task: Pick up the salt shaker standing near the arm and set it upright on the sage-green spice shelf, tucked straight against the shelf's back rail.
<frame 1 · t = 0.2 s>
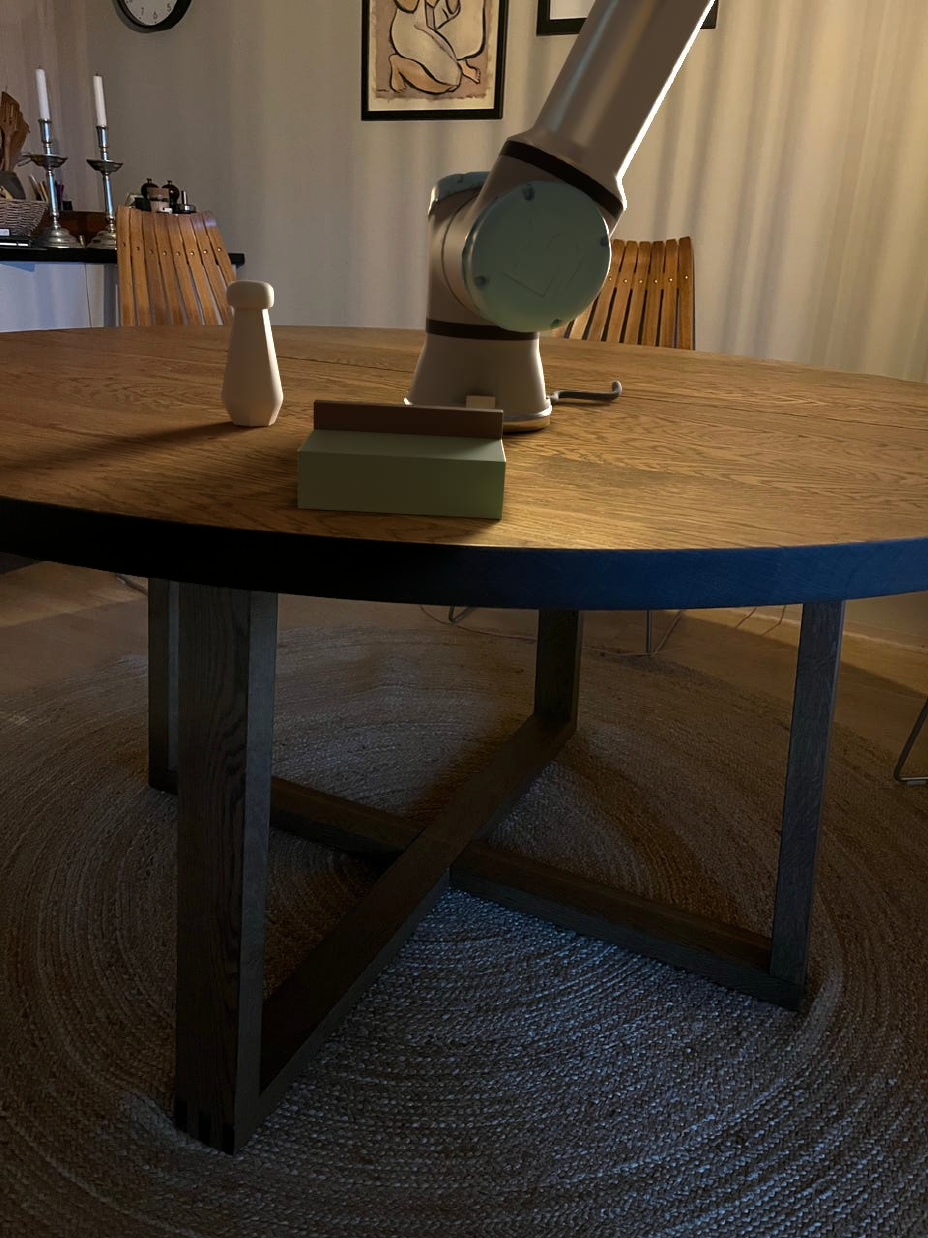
salt shaker: (252, 424, 96), on the table
spice shelf: (403, 497, 72), on the table
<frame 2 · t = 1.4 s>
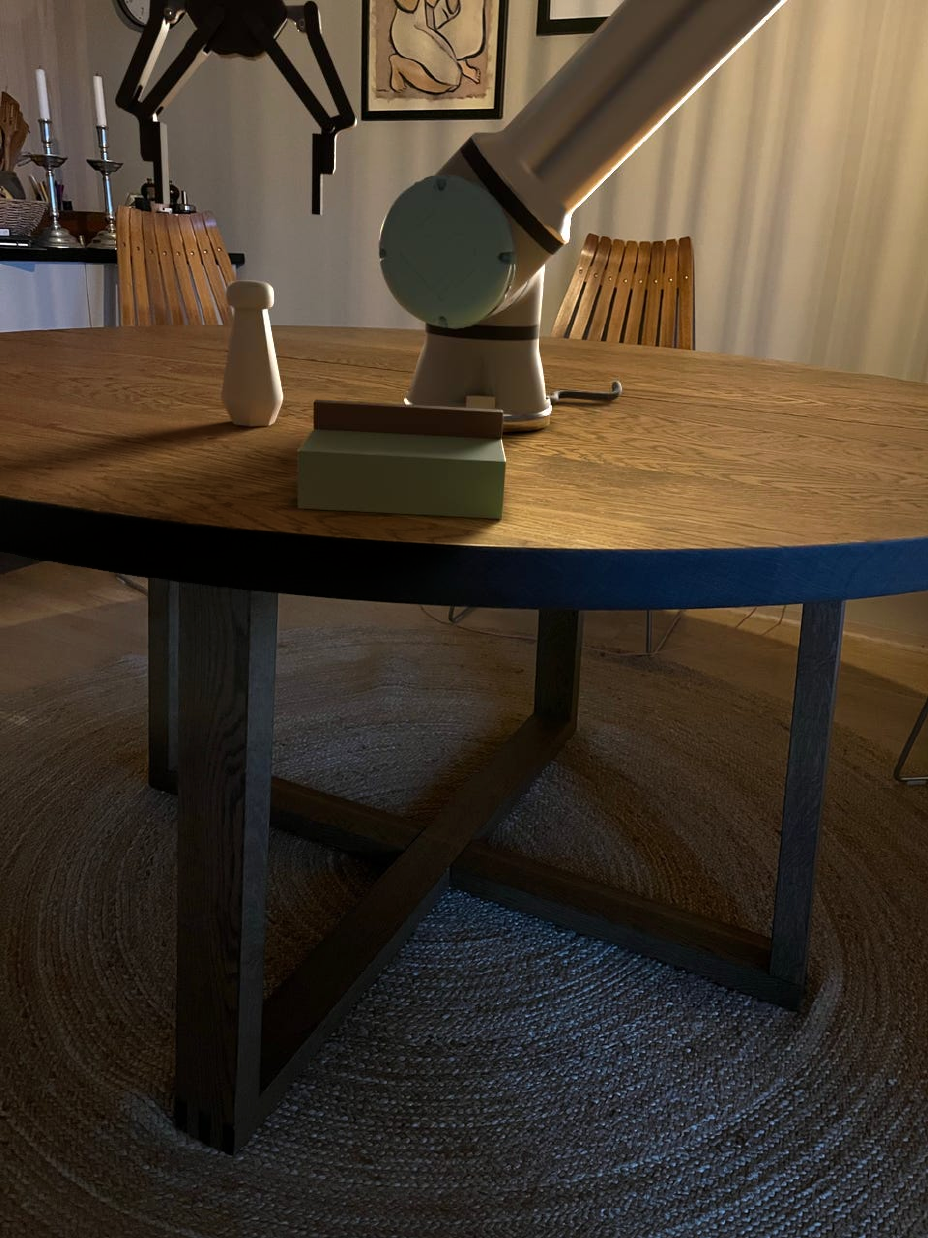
hand: (240, 209, 89), 19 cm above the table, tool pointing down, fingers open, 13 cm apart
nothing on the table moved.
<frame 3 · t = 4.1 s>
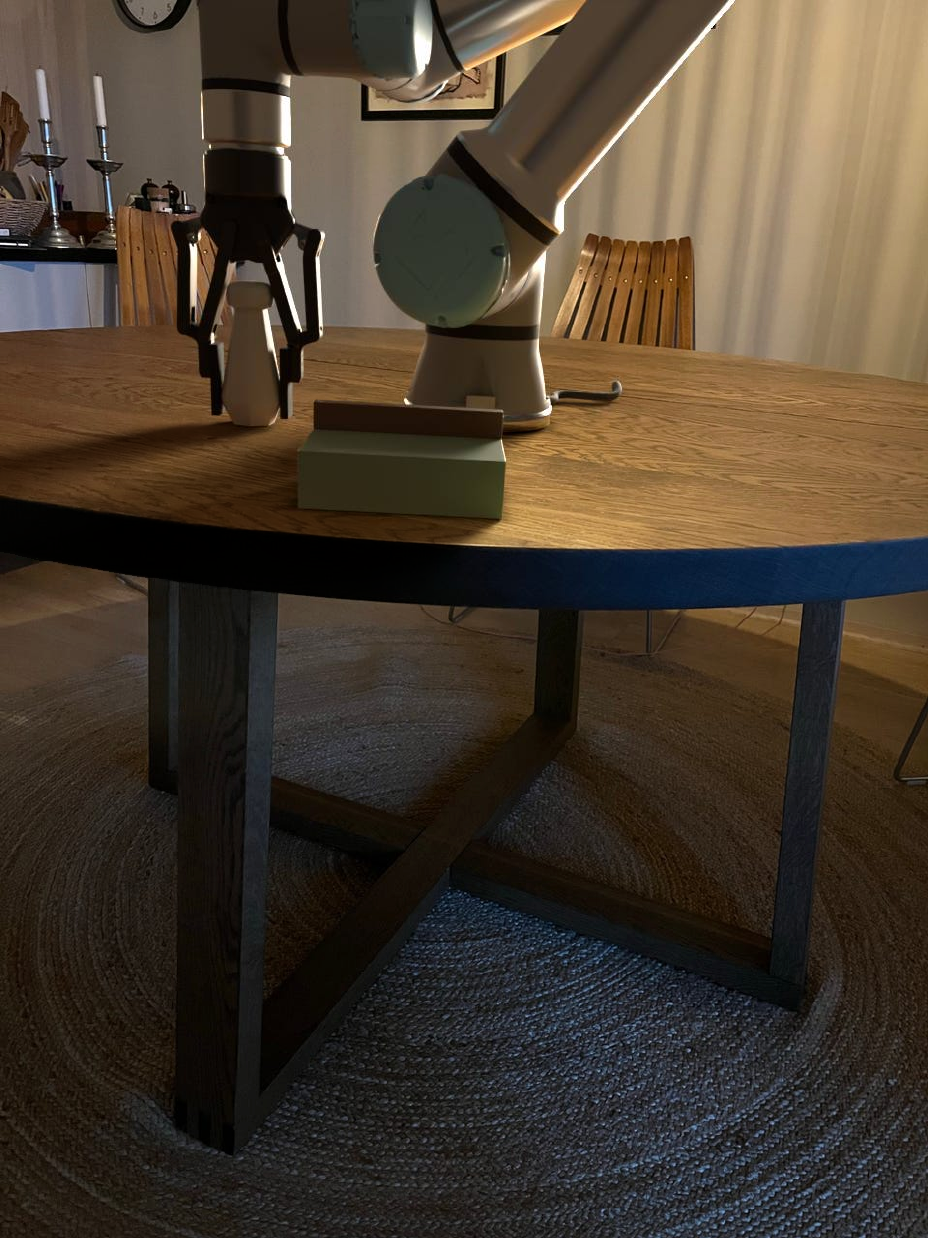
hand: (252, 414, 96), 1 cm above the table, tool pointing down, fingers closed on salt shaker, 6 cm apart
salt shaker: (252, 424, 96), on the table, touching gripper
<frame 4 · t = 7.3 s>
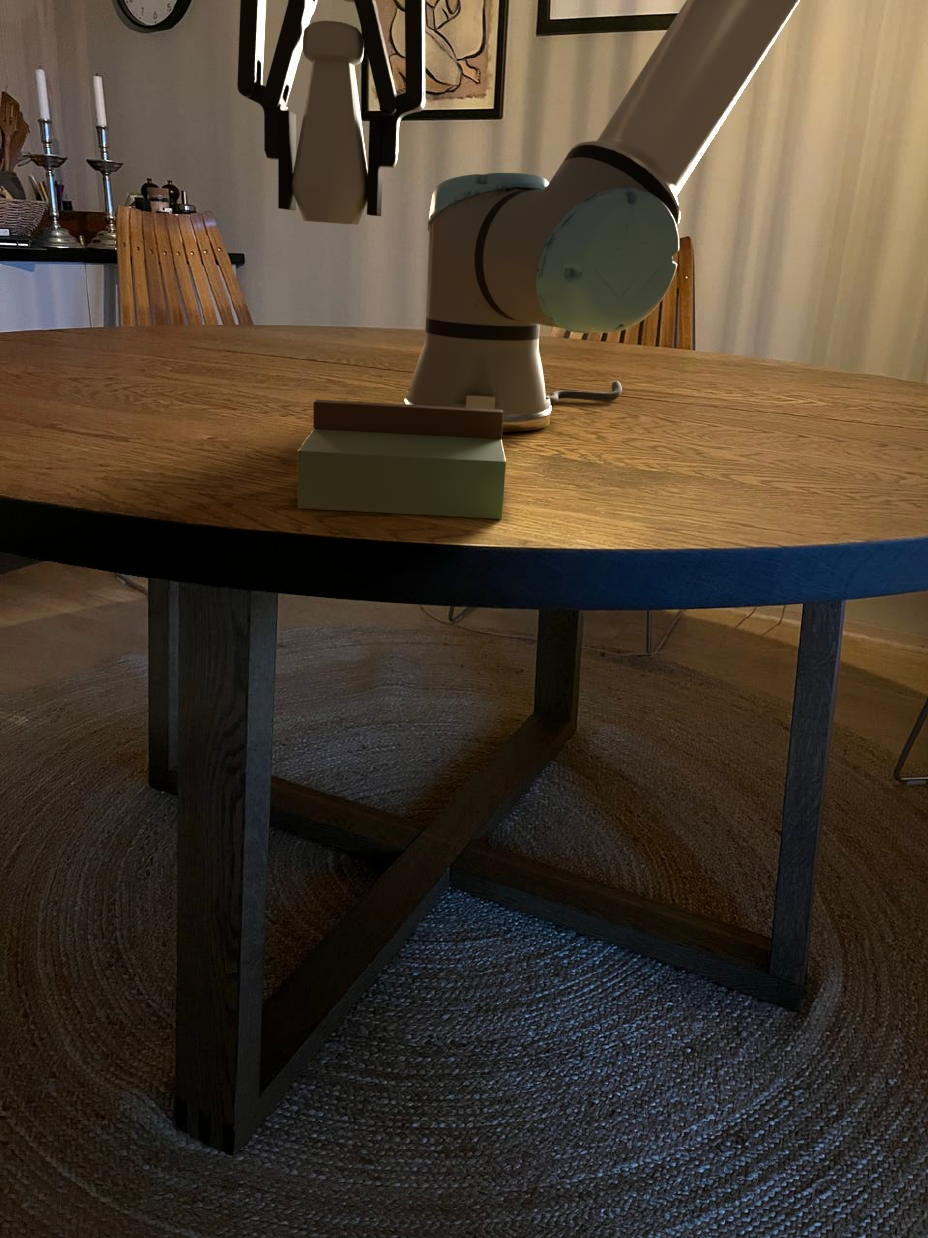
hand: (330, 211, 74), 19 cm above the table, tool pointing down, fingers closed on salt shaker, 6 cm apart
salt shaker: (330, 225, 75), point 18 cm above the table, touching gripper
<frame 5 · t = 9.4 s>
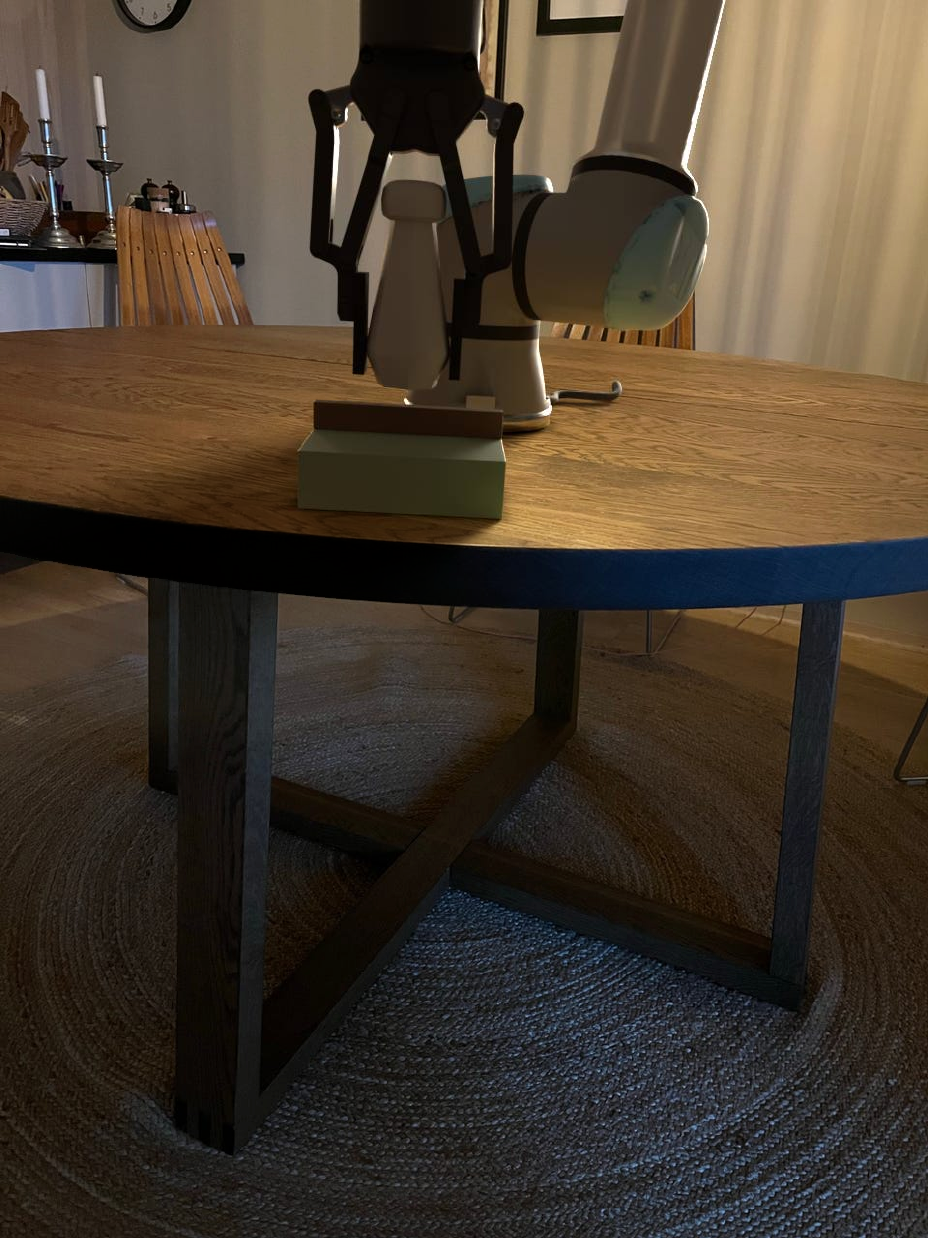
hand: (407, 374, 69), 9 cm above the table, tool pointing down, fingers closed on salt shaker, 6 cm apart
salt shaker: (406, 388, 69), point 8 cm above the table, touching gripper
when the fingers open (5 cm above the table, at t = 10.8 s): salt shaker stays where it is, resting on spice shelf.
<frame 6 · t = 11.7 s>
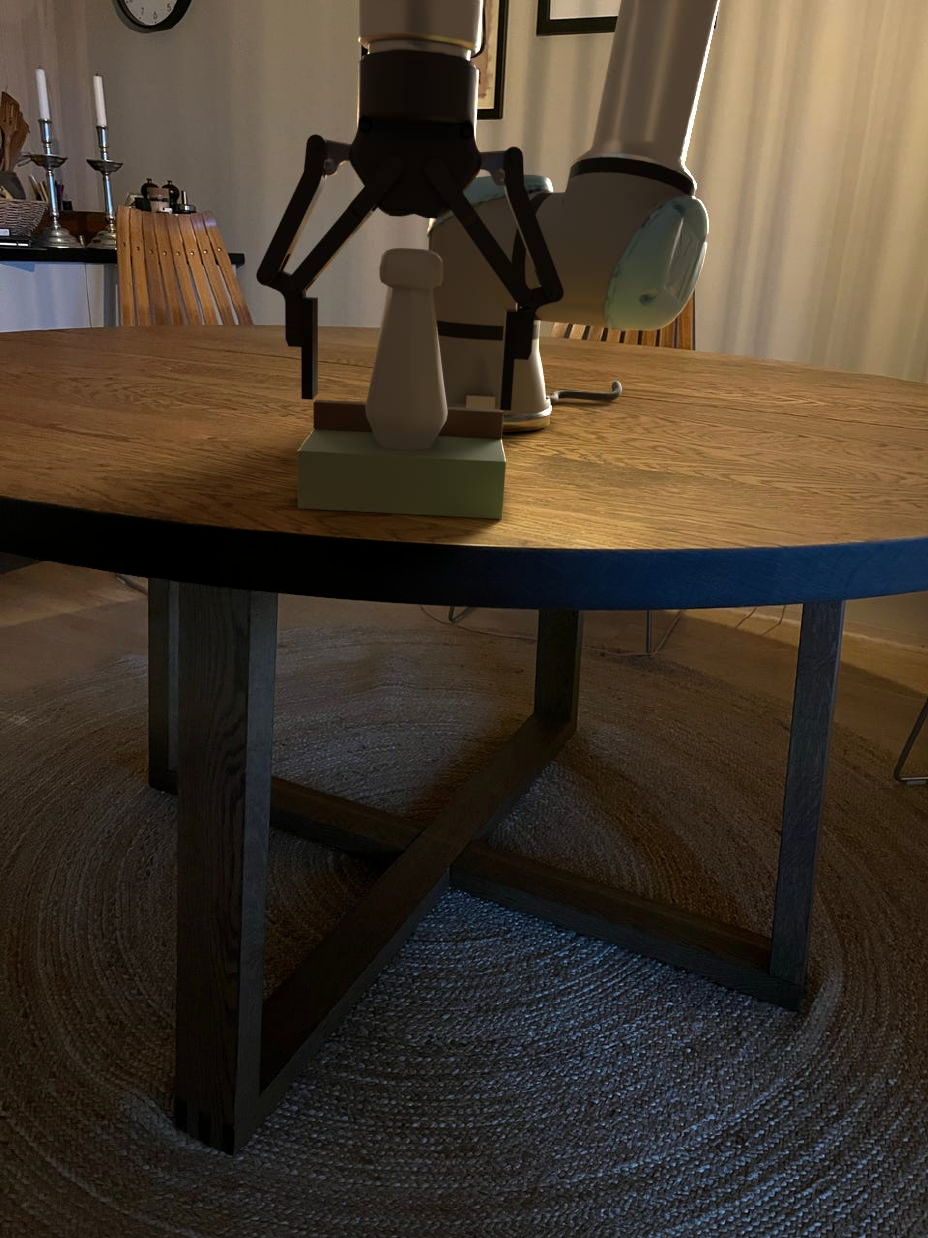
hand: (407, 402, 69), 7 cm above the table, tool pointing down, fingers open, 13 cm apart
salt shaker: (405, 447, 71), point 4 cm above the table, touching spice shelf
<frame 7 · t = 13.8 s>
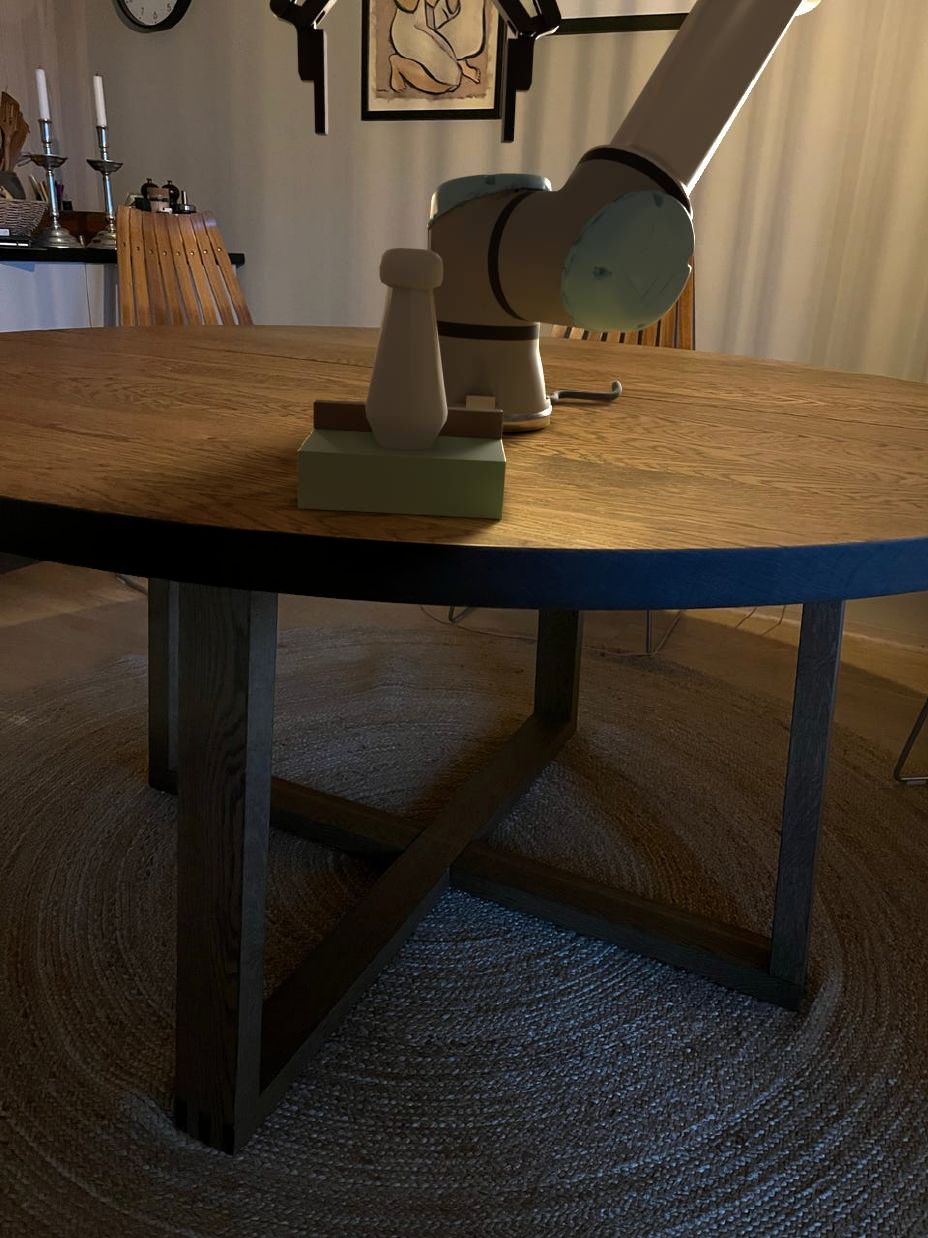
hand: (414, 138, 73), 24 cm above the table, tool pointing down, fingers open, 13 cm apart
nothing on the table moved.
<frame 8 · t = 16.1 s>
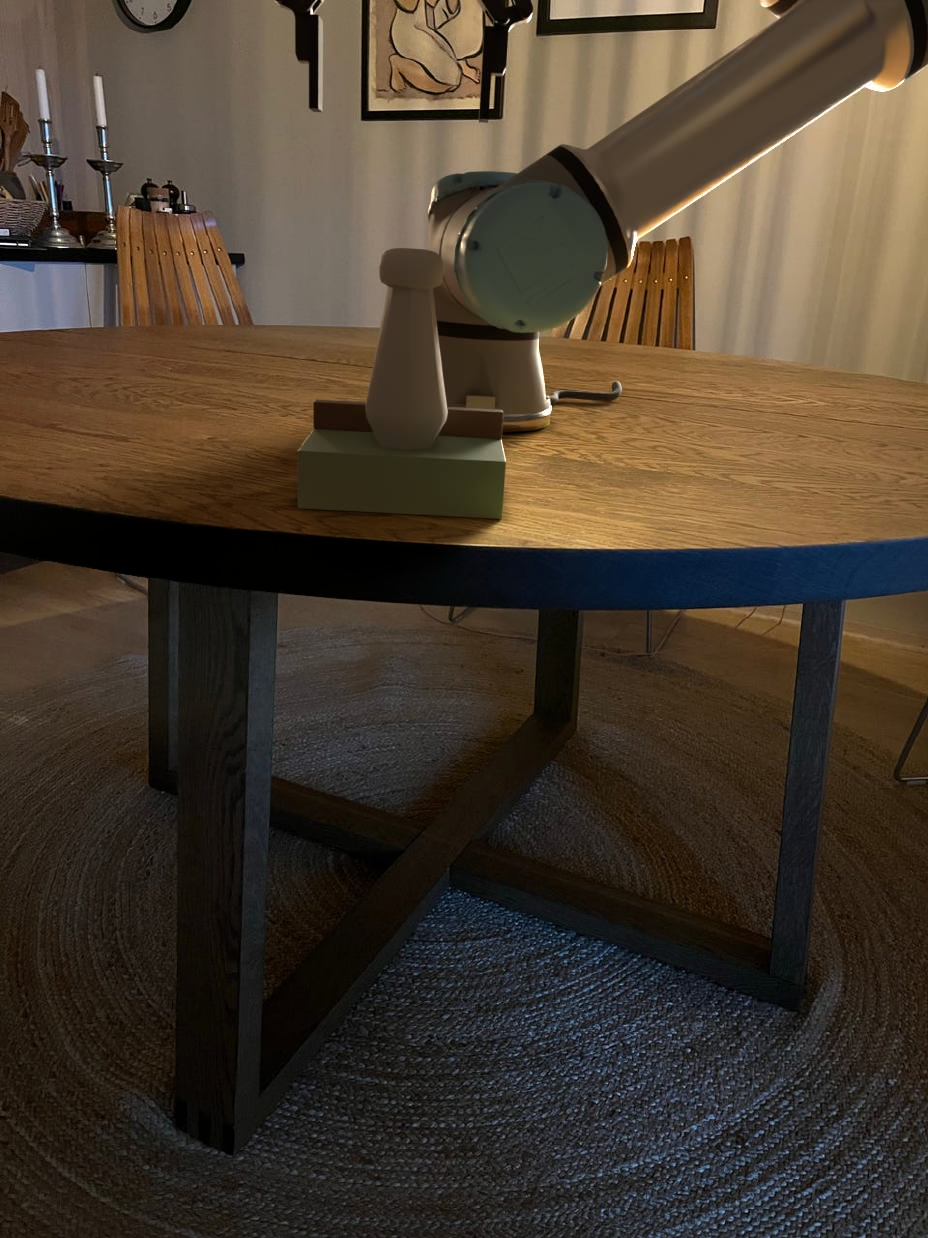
hand: (399, 115, 81), 27 cm above the table, tool pointing down, fingers open, 13 cm apart
nothing on the table moved.
at the end: salt shaker 0.1 cm off-centre on the spice shelf, point 3.8 cm above the spice shelf's base; salt shaker tilted 0°; the gripper is holding nothing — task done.
